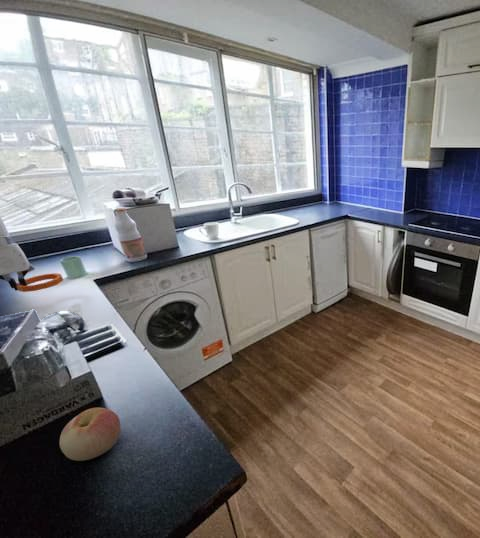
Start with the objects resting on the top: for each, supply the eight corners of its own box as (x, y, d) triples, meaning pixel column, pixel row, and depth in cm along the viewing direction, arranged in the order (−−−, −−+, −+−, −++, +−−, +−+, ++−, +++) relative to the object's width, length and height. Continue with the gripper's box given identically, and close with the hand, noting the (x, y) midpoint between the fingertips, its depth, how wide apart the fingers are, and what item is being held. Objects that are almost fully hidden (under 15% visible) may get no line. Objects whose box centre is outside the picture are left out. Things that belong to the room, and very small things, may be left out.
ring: (17, 295, 107) (14, 290, 107) (19, 284, 116) (17, 279, 115) (63, 284, 115) (61, 279, 114) (62, 275, 124) (60, 270, 123)
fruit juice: (122, 262, 158) (103, 210, 147) (137, 256, 166) (120, 206, 155) (137, 263, 156) (118, 210, 145) (151, 256, 165) (135, 206, 154)
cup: (68, 280, 138) (60, 262, 134) (67, 276, 142) (59, 258, 139) (87, 275, 142) (80, 258, 139) (86, 271, 147) (79, 255, 143)
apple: (106, 424, 64) (92, 397, 61) (136, 434, 62) (123, 406, 59) (59, 462, 57) (40, 434, 53) (91, 475, 54) (73, 446, 51)
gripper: (-41, 250, 97) (-12, 298, 104) (27, 240, 107) (48, 285, 114) (-36, 245, 102) (-9, 291, 109) (28, 235, 112) (49, 279, 119)
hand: (20, 288), depth 112 cm, fingers closed on ring, 1 cm apart
